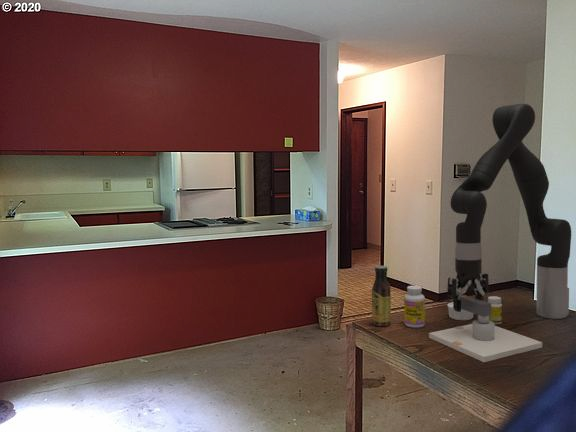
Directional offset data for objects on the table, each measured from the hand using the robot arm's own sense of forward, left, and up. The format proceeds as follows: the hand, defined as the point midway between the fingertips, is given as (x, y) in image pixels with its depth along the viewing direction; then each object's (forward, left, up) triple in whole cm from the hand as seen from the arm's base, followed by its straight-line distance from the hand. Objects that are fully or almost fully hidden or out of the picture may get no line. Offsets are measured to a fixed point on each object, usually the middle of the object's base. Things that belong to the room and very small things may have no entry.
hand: (468, 309), depth 151 cm
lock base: (0, +6, -9) cm, 10 cm away
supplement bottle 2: (-17, -6, -9) cm, 20 cm away
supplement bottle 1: (+7, -17, -9) cm, 20 cm away
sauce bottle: (+16, -23, -9) cm, 29 cm away
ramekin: (-12, -16, -9) cm, 22 cm away
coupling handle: (0, +2, -2) cm, 3 cm away
